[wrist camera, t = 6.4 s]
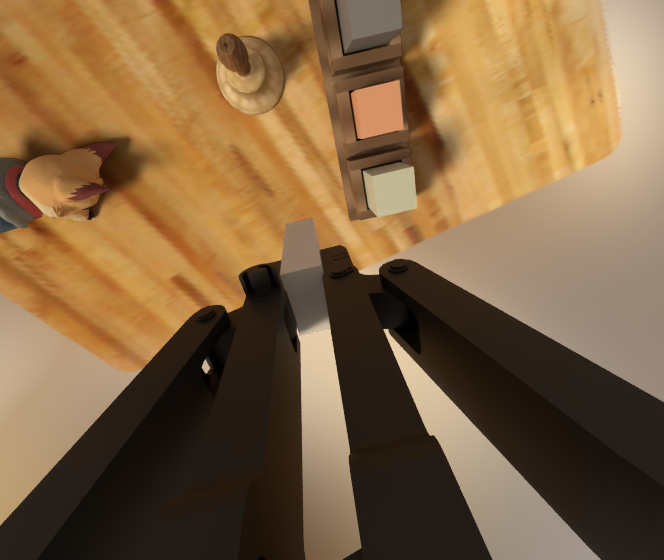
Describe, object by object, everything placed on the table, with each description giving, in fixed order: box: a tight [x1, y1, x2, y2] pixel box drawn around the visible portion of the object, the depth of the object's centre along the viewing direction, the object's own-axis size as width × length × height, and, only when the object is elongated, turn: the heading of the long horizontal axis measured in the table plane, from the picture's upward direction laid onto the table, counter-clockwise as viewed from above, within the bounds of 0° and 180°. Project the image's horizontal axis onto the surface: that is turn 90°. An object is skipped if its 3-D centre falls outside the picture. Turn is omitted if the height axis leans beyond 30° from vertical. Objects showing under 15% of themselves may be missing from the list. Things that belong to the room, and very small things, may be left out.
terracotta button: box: [349, 80, 404, 139], centre depth 37 cm, size 5×5×6 cm
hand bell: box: [216, 33, 284, 115], centre depth 31 cm, size 8×8×16 cm
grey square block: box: [336, 0, 402, 54], centre depth 31 cm, size 5×5×6 cm
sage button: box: [362, 162, 417, 217], centre depth 39 cm, size 5×5×6 cm
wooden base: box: [309, 0, 411, 221], centre depth 39 cm, size 28×10×5 cm, turn 12°
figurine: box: [0, 142, 116, 233], centre depth 38 cm, size 10×12×20 cm
